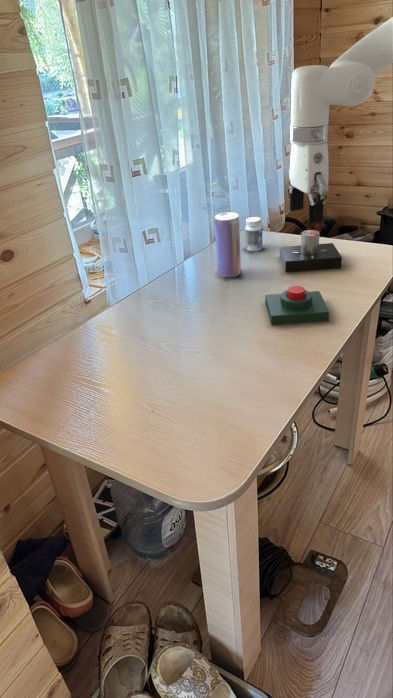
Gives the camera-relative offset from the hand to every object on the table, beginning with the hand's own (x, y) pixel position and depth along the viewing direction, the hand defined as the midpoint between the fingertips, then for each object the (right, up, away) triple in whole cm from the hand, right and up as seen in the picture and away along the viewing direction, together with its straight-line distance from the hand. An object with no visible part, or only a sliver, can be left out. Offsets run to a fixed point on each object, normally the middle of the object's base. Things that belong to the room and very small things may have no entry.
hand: (305, 215), depth 115 cm
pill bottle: (-8, -2, +30) cm, 31 cm away
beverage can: (-16, -11, +17) cm, 26 cm away
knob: (+5, -5, +17) cm, 18 cm away
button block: (-3, -22, -3) cm, 22 cm away
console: (+5, -7, +19) cm, 21 cm away
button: (-3, -19, -5) cm, 19 cm away
